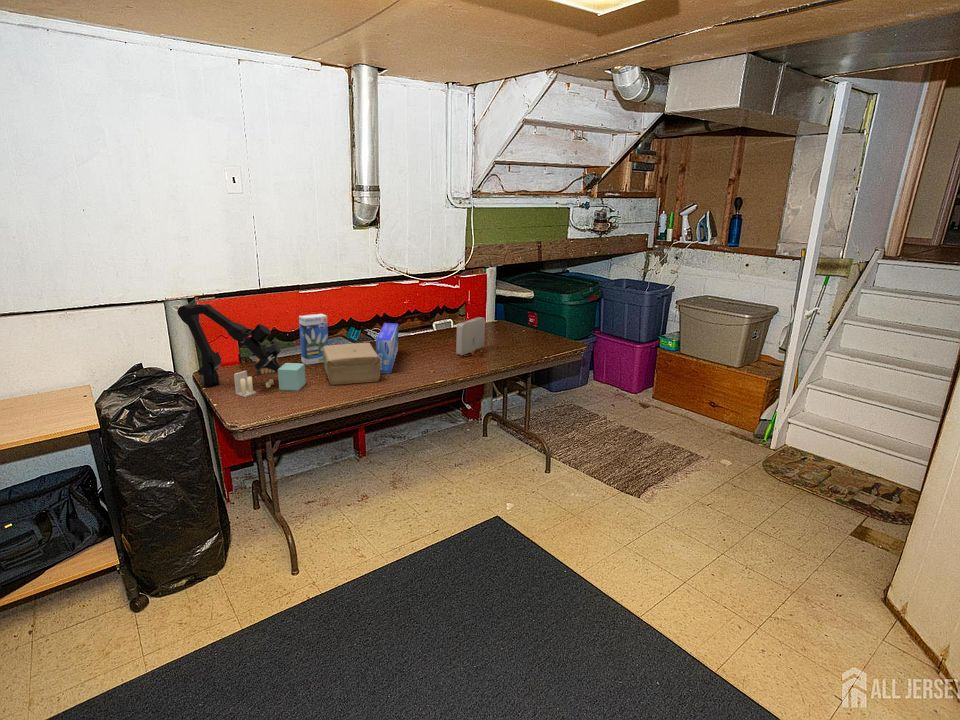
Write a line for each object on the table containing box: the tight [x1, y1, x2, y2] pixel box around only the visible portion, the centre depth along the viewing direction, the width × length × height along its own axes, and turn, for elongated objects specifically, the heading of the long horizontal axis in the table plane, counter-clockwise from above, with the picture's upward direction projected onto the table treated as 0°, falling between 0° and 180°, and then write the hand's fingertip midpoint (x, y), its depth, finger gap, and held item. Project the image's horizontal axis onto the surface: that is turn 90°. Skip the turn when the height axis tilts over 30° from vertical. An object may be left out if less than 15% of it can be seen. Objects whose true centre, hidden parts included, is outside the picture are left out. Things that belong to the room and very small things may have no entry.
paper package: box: [323, 342, 381, 386], centre depth 274 cm, size 27×26×14 cm
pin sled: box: [233, 370, 257, 398], centre depth 243 cm, size 6×6×10 cm
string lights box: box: [298, 313, 329, 366], centre depth 293 cm, size 13×8×26 cm, turn 129°
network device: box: [455, 316, 486, 356], centre depth 320 cm, size 26×9×20 cm, turn 148°
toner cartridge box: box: [375, 322, 399, 374], centre depth 297 cm, size 39×8×18 cm, turn 3°
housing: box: [277, 362, 307, 391], centre depth 254 cm, size 9×10×10 cm
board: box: [265, 378, 274, 388], centre depth 255 cm, size 12×7×3 cm, turn 89°
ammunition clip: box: [255, 356, 279, 376], centre depth 271 cm, size 11×2×12 cm, turn 122°
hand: (281, 371), depth 253 cm, fingers closed
